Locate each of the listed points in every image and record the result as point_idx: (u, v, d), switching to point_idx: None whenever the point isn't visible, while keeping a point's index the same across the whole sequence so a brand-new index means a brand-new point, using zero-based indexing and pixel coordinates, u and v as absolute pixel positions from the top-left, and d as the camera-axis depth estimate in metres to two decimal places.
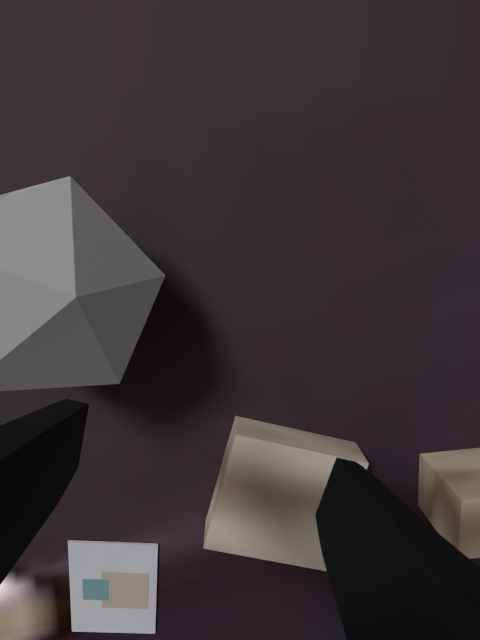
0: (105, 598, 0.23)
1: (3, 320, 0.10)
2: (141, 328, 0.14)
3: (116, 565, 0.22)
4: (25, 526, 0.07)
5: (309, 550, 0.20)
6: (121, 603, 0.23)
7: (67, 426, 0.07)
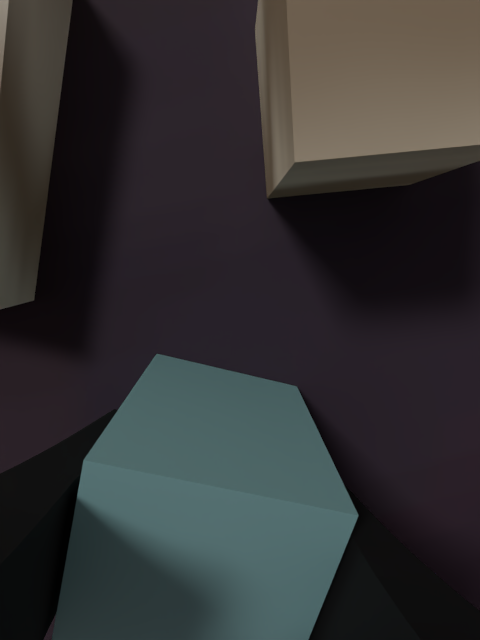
0: None
1: None
2: None
3: None
4: None
5: None
6: None
7: None
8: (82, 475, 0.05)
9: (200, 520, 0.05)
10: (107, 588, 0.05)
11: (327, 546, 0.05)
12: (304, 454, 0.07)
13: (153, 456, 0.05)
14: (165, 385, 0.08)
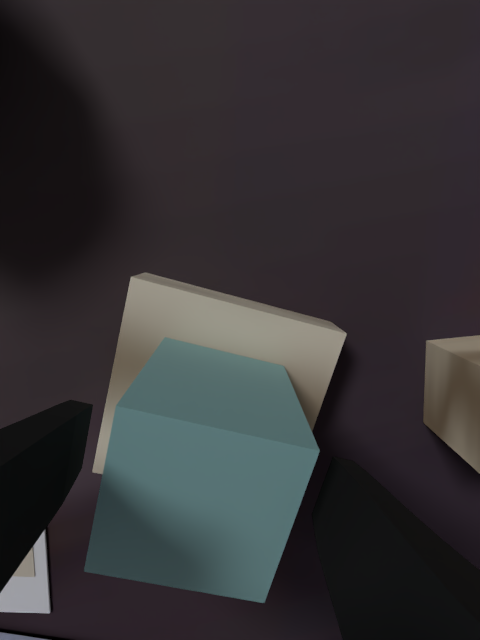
0: None
1: None
2: None
3: None
4: (29, 526, 0.07)
5: None
6: None
7: (71, 427, 0.07)
8: (115, 417, 0.07)
9: (202, 453, 0.07)
10: (131, 505, 0.07)
11: (296, 474, 0.07)
12: (283, 412, 0.08)
13: (166, 406, 0.07)
14: (173, 360, 0.10)
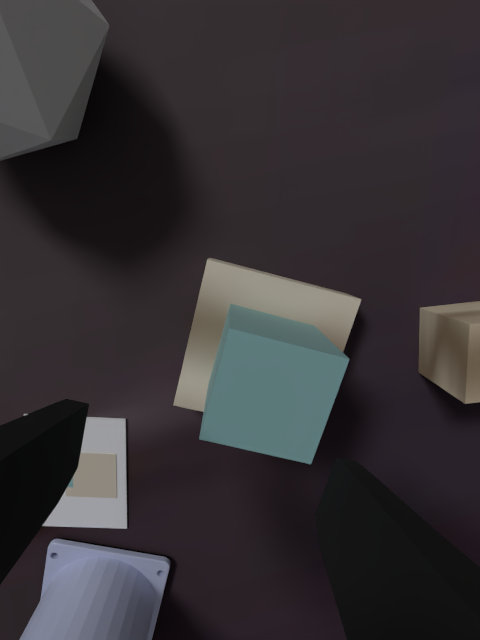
0: (69, 484, 0.20)
1: None
2: (77, 78, 0.12)
3: None
4: (25, 526, 0.07)
5: None
6: (87, 491, 0.20)
7: (67, 426, 0.07)
8: (228, 335, 0.11)
9: (278, 359, 0.12)
10: (232, 394, 0.12)
11: (335, 374, 0.12)
12: (323, 343, 0.13)
13: (255, 332, 0.12)
14: (244, 315, 0.14)
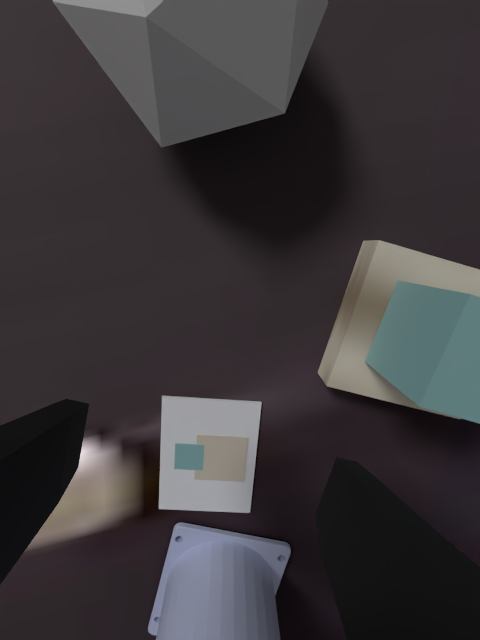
0: (198, 467, 0.20)
1: None
2: (306, 54, 0.12)
3: (213, 428, 0.20)
4: (24, 525, 0.07)
5: None
6: (215, 474, 0.20)
7: (66, 427, 0.07)
8: (469, 301, 0.11)
9: None
10: (460, 361, 0.12)
11: None
12: None
13: None
14: None
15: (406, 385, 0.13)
